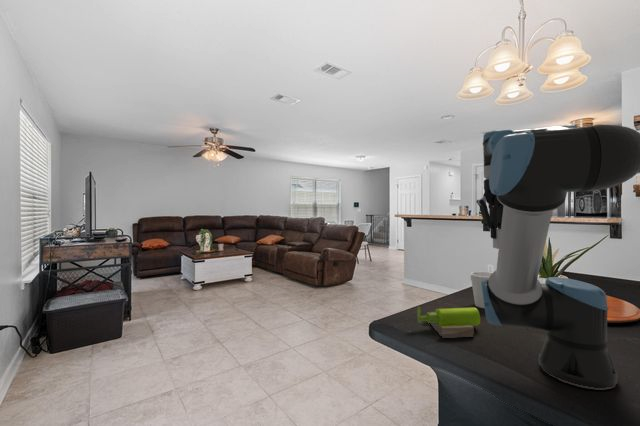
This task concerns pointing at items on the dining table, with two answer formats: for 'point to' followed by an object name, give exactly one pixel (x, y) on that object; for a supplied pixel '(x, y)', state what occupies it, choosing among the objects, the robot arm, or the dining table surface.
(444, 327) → the cradle
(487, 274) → the foam cup
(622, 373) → the dining table surface
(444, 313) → the soap dispenser
